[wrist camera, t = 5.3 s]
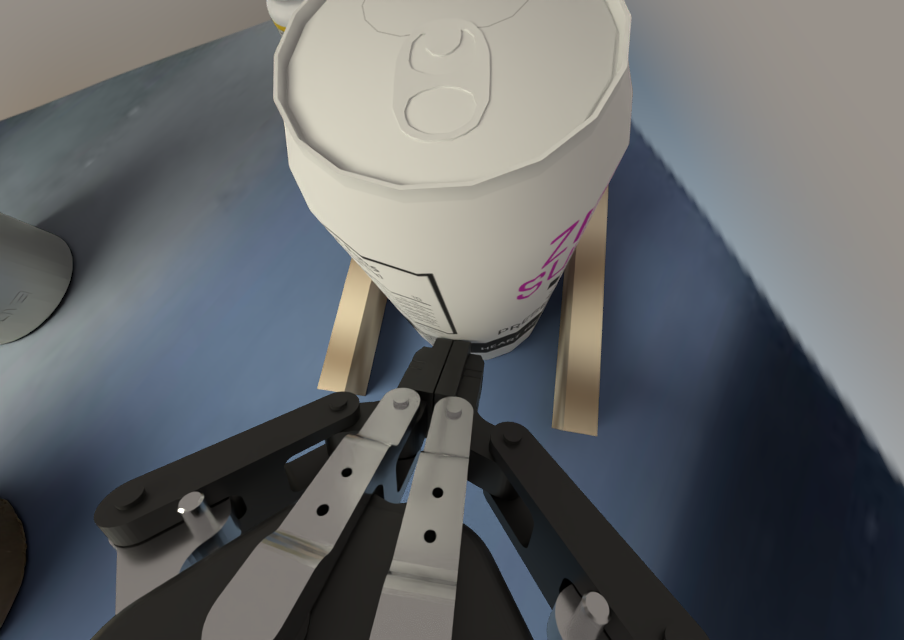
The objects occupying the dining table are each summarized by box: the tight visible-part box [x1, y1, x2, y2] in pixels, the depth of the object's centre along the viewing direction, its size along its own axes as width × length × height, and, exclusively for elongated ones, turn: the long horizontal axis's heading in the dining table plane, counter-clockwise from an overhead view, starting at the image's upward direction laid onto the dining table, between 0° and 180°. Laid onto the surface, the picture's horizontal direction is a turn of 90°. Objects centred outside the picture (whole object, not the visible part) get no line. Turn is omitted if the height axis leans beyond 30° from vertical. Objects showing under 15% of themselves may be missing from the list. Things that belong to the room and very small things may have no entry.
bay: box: [318, 184, 609, 436], centre depth 19 cm, size 18×14×4 cm
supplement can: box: [273, 0, 633, 360], centre depth 14 cm, size 8×8×15 cm
